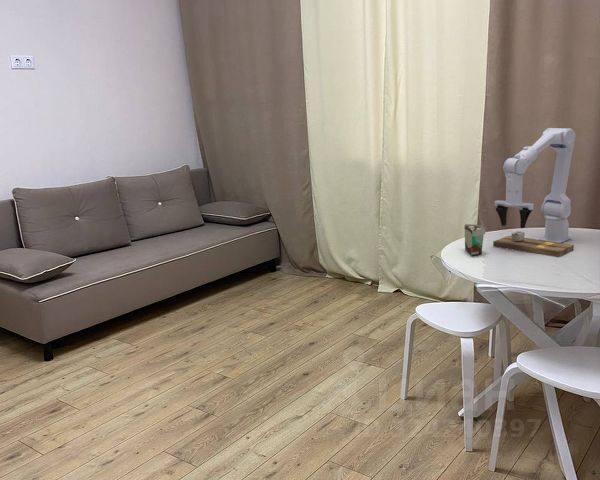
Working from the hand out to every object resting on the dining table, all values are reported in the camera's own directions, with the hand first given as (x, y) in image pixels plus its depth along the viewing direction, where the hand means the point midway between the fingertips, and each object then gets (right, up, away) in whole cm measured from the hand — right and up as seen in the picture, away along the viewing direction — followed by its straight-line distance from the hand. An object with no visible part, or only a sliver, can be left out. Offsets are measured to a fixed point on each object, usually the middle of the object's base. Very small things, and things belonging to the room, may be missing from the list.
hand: (513, 226), depth 224 cm
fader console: (+9, -8, +4) cm, 13 cm away
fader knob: (+5, -5, +8) cm, 10 cm away
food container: (-13, -10, +2) cm, 17 cm away
